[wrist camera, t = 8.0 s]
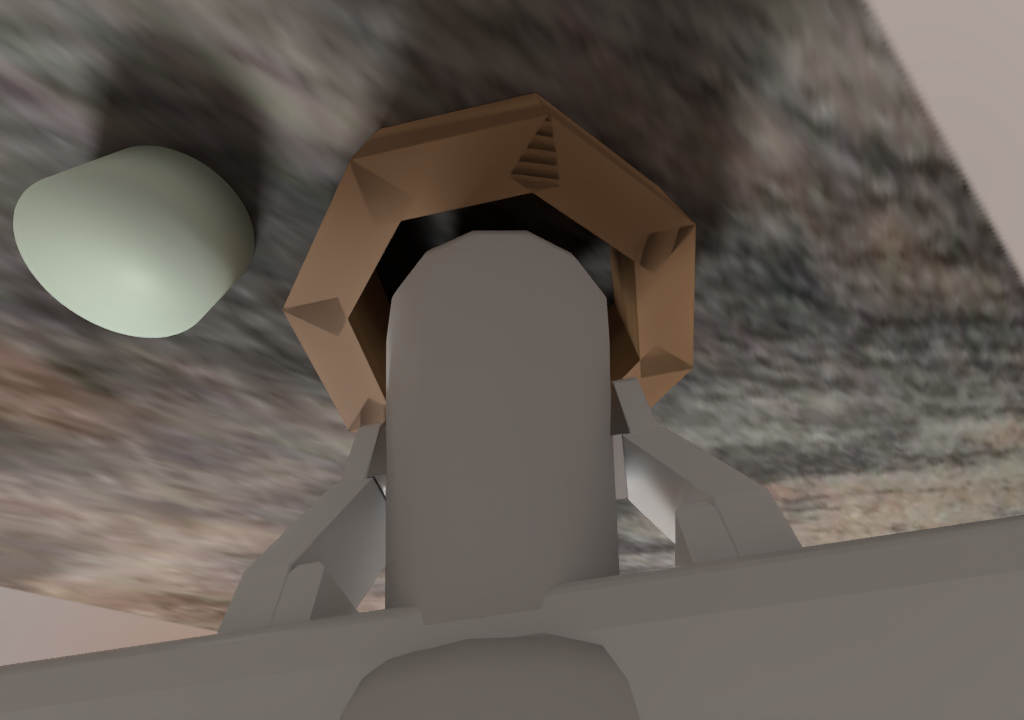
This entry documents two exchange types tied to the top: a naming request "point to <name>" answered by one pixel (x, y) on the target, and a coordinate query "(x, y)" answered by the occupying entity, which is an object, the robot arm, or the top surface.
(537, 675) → the salt shaker
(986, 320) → the top surface
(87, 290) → the smooth pale green pebble
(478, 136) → the walnut ring
